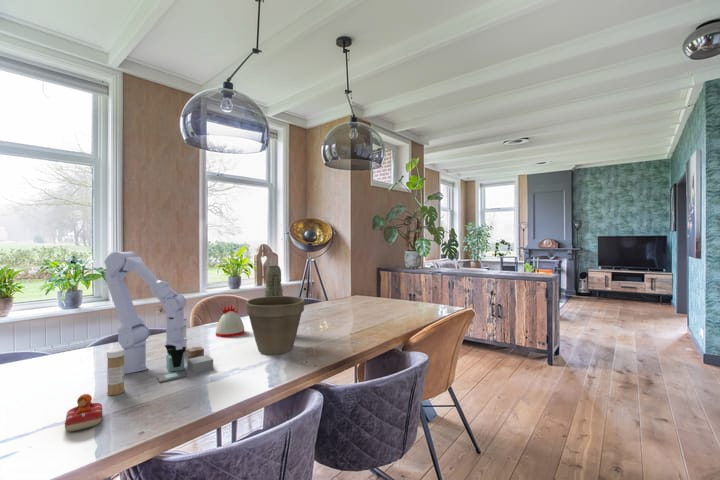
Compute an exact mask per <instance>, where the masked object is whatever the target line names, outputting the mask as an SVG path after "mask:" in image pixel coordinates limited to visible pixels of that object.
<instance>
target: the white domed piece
mask: <svg viewBox="0 0 720 480" xmlns="http://www.w3.org/2000/svg"><path fill="white" fill-rule="evenodd" d="M238 310H239V308H237V309H236V306H234V307H233V305H232V304H231V305H229V304H228V305H227V308H226V305H224V306H223V308H221V311H222V313H223V314H222V315H221V317H220V318H219V320H217V322H218V323H217V325H216V328H215V337H217V338H233V337H234V338H235V337H239V336H242V335H244V334H245V326H244V323H243V320H242V318H241V316H240V315H239V313H238Z"/></svg>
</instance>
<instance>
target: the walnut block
mask: <svg viewBox="0 0 720 480" xmlns="http://www.w3.org/2000/svg"><path fill="white" fill-rule="evenodd" d="M186 351H187V353H186V354H187V355H186V360H187V359H191V358H195V357H200V356H205V349H204V348H203V346H196V347H189V348H188V347H187V350H186Z"/></svg>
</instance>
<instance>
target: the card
mask: <svg viewBox="0 0 720 480" xmlns="http://www.w3.org/2000/svg"><path fill="white" fill-rule="evenodd" d="M186 377H187V376H186V374H185V373H184V371H183V370H177V371H173V372H168V373H166V374H165V373H164V374H161V375H156V379H157V381H158V383H159V384H162V383H166V382H170V381H174V380H179V379H183V378H186Z"/></svg>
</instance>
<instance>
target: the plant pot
mask: <svg viewBox="0 0 720 480" xmlns="http://www.w3.org/2000/svg"><path fill="white" fill-rule="evenodd" d="M245 310H246V313H245V314H247V315H248V317H249V321H250V322H249V323H250V325H251V329H252V332H253V337H254V340H255V343H256V347H257V350H258V352H259V353H261V354H263V355H271V356H275V355H281V354H286V353H288V352H291V351H292V350H293V348H294V346H295V342H296V337H297V334H298V330H299V325H300V321H301V318H302V313H303V312H304V311H305V299H304V298H303V297H297V296H288V295H287V296H286V295H283V296H271V297H265V296H263V297H256V298H251V299H248V300H247V301H246V302H245Z"/></svg>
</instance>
